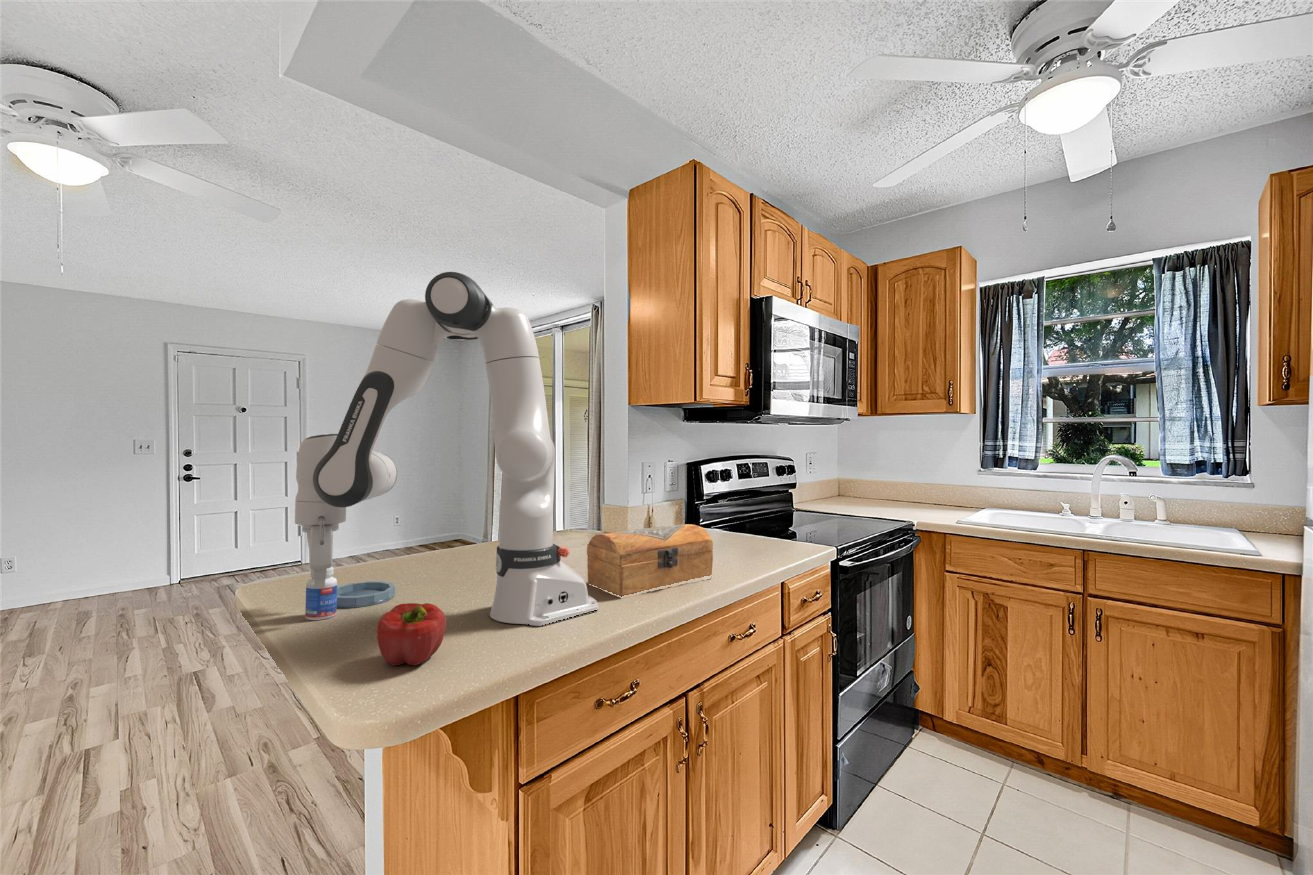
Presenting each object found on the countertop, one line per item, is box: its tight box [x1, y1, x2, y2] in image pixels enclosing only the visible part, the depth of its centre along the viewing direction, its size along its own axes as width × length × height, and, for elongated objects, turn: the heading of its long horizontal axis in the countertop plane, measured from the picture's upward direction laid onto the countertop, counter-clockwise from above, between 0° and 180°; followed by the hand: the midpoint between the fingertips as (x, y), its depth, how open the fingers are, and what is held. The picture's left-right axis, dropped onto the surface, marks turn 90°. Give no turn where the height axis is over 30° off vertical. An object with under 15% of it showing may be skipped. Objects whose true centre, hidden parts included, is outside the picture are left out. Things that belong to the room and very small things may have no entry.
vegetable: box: [376, 602, 447, 666], centre depth 89 cm, size 11×10×10 cm
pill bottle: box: [304, 566, 338, 621], centre depth 110 cm, size 6×5×10 cm
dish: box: [337, 580, 396, 609], centre depth 122 cm, size 13×13×2 cm
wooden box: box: [586, 523, 714, 597], centre depth 139 cm, size 30×16×14 cm, turn 128°
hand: (318, 581), depth 110 cm, fingers open, 8 cm apart
